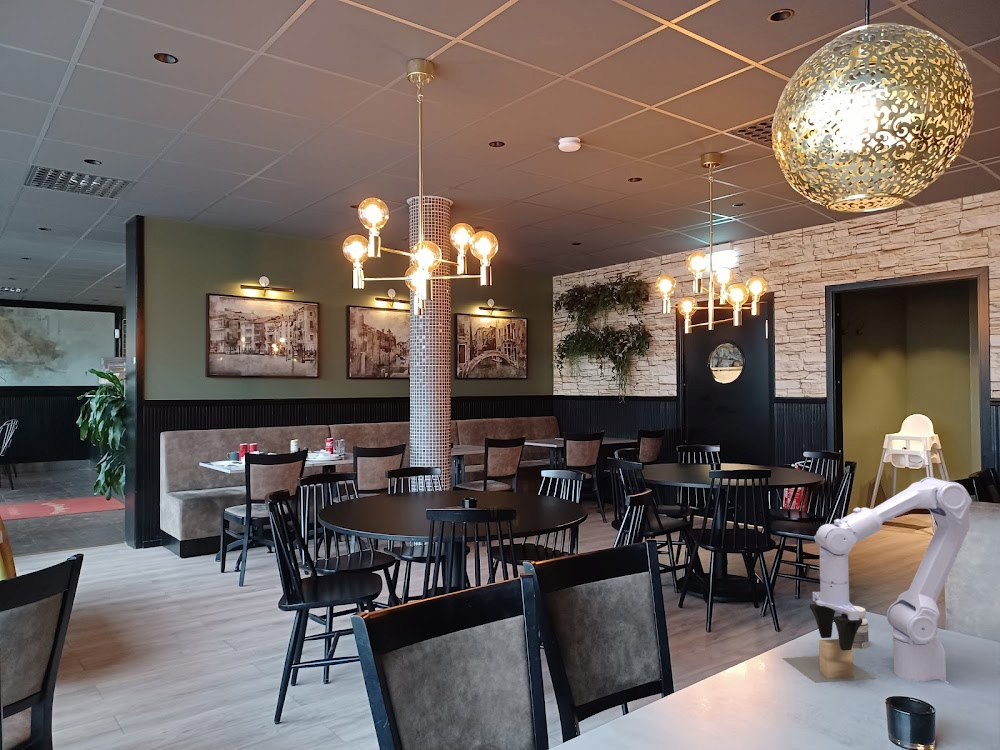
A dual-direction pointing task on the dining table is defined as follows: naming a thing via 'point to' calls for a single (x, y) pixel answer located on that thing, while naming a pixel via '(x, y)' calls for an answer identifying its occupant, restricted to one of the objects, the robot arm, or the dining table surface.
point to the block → (835, 659)
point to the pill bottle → (861, 631)
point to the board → (812, 671)
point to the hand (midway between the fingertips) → (835, 643)
